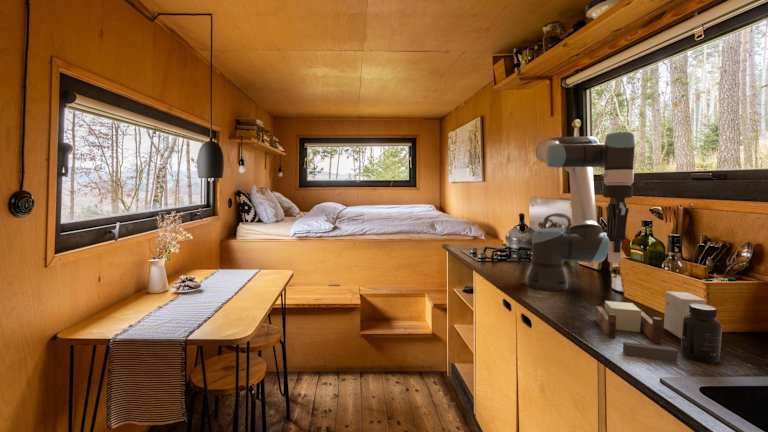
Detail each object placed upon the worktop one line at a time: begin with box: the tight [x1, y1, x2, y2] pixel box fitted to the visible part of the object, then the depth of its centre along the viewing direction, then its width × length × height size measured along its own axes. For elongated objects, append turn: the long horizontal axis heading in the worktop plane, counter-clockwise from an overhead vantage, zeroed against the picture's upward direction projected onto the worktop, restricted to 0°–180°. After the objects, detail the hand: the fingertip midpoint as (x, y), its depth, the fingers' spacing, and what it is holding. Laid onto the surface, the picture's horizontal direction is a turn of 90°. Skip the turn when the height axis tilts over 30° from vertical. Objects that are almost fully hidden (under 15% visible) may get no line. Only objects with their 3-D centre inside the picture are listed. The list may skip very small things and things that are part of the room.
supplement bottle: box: [680, 303, 723, 365], centre depth 84 cm, size 7×7×12 cm
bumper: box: [622, 341, 679, 363], centre depth 84 cm, size 2×10×2 cm, turn 72°
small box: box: [663, 290, 707, 339], centre depth 98 cm, size 8×6×10 cm
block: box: [603, 300, 642, 333], centre depth 104 cm, size 7×7×6 cm
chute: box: [594, 305, 663, 344], centre depth 100 cm, size 14×12×6 cm
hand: (614, 262), depth 112 cm, fingers closed
